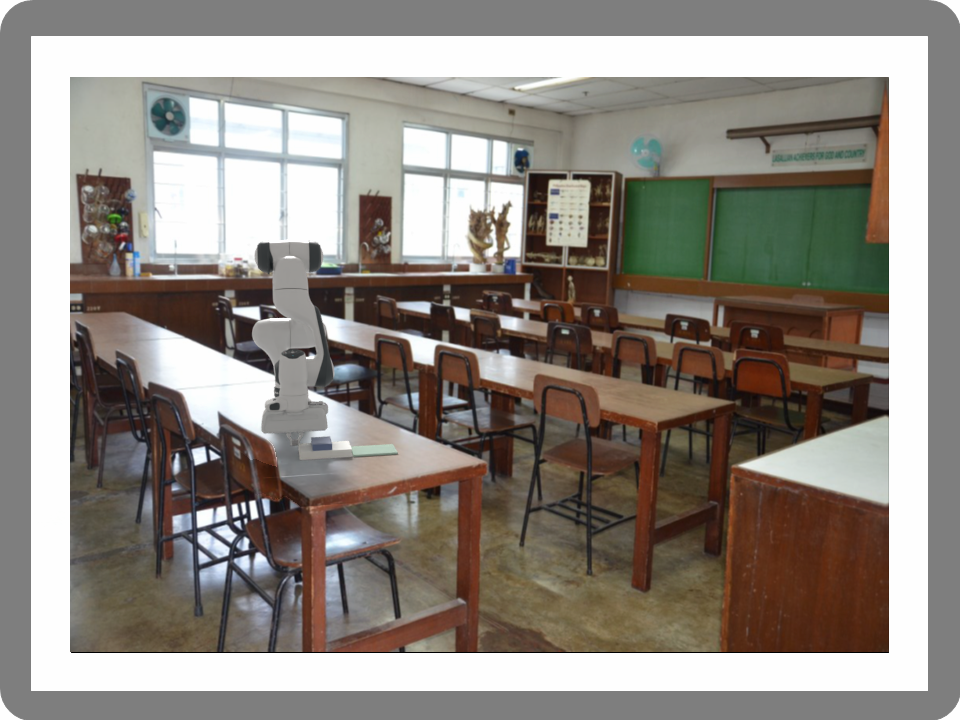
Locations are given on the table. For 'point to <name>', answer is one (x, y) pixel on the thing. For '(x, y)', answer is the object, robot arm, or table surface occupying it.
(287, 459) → the table surface
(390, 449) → the mat
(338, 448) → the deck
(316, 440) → the tile
